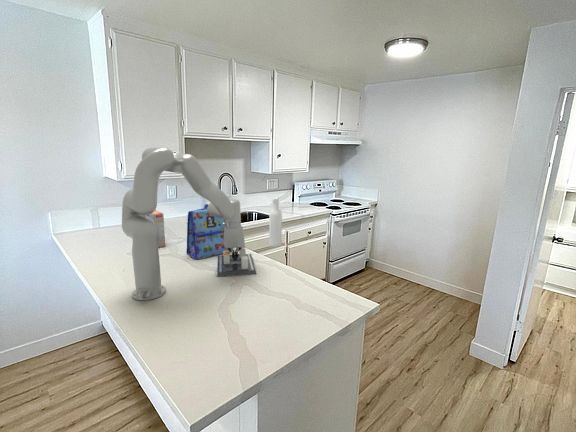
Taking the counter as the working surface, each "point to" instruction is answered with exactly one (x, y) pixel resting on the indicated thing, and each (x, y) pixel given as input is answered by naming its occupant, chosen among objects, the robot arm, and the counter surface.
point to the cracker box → (159, 221)
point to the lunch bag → (204, 234)
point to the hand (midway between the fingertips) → (235, 259)
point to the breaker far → (242, 252)
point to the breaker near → (244, 262)
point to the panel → (234, 267)
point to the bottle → (275, 225)
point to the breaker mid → (226, 257)
